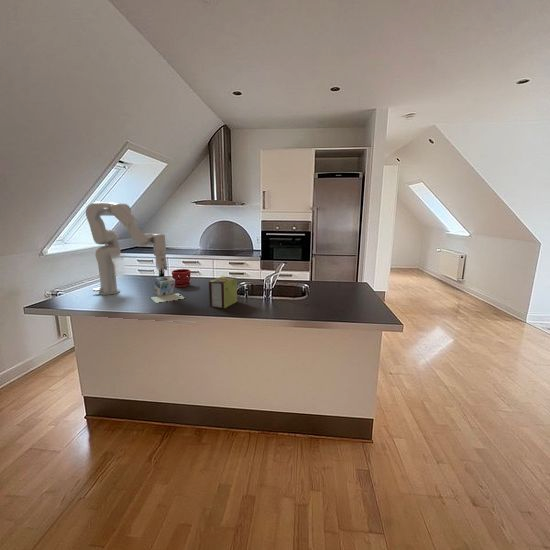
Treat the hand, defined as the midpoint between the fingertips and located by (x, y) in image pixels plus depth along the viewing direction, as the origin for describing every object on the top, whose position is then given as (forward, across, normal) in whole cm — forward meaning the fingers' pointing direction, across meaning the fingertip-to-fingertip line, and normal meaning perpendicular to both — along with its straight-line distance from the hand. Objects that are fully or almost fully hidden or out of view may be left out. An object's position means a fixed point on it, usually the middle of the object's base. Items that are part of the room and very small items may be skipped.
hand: (162, 280), depth 196 cm
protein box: (+10, -42, -24) cm, 50 cm away
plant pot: (+10, +15, -18) cm, 26 cm away
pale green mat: (+10, -12, 0) cm, 15 cm away
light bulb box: (+8, -2, 0) cm, 9 cm away
